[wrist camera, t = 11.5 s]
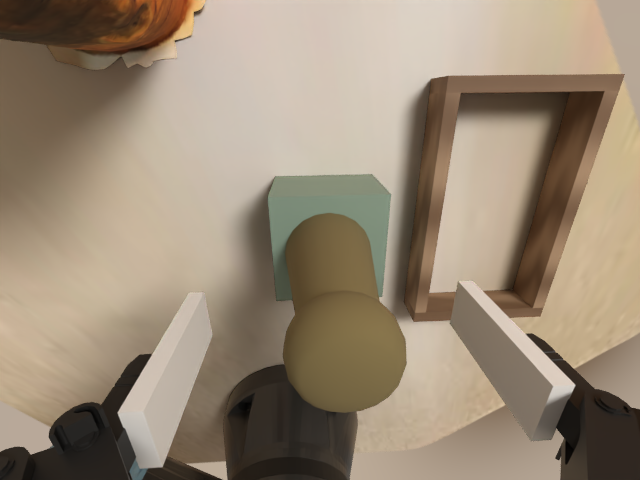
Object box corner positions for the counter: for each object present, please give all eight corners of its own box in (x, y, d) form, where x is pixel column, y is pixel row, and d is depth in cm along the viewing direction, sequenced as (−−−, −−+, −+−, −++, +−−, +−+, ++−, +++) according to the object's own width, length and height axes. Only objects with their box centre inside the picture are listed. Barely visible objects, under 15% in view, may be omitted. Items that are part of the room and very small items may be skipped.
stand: (367, 259, 29) (382, 296, 23) (281, 262, 29) (276, 300, 23) (372, 174, 26) (390, 194, 20) (275, 176, 25) (267, 197, 20)
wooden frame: (519, 297, 32) (540, 316, 29) (404, 302, 31) (413, 321, 28) (587, 77, 23) (624, 74, 21) (431, 79, 23) (448, 75, 20)
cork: (268, 262, 22) (237, 399, 12) (320, 195, 20) (337, 290, 10) (335, 303, 23) (358, 454, 13) (388, 244, 22) (462, 369, 12)
